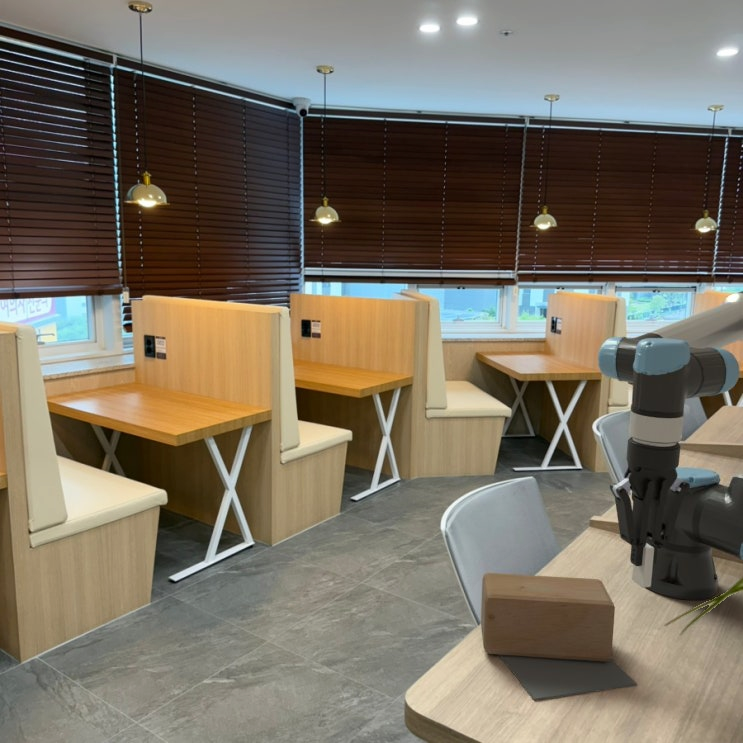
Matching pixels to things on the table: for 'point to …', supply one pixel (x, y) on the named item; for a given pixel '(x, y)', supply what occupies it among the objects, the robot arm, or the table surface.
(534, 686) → the mat
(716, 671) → the table surface
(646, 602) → the table surface
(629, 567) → the table surface
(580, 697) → the table surface
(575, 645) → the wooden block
